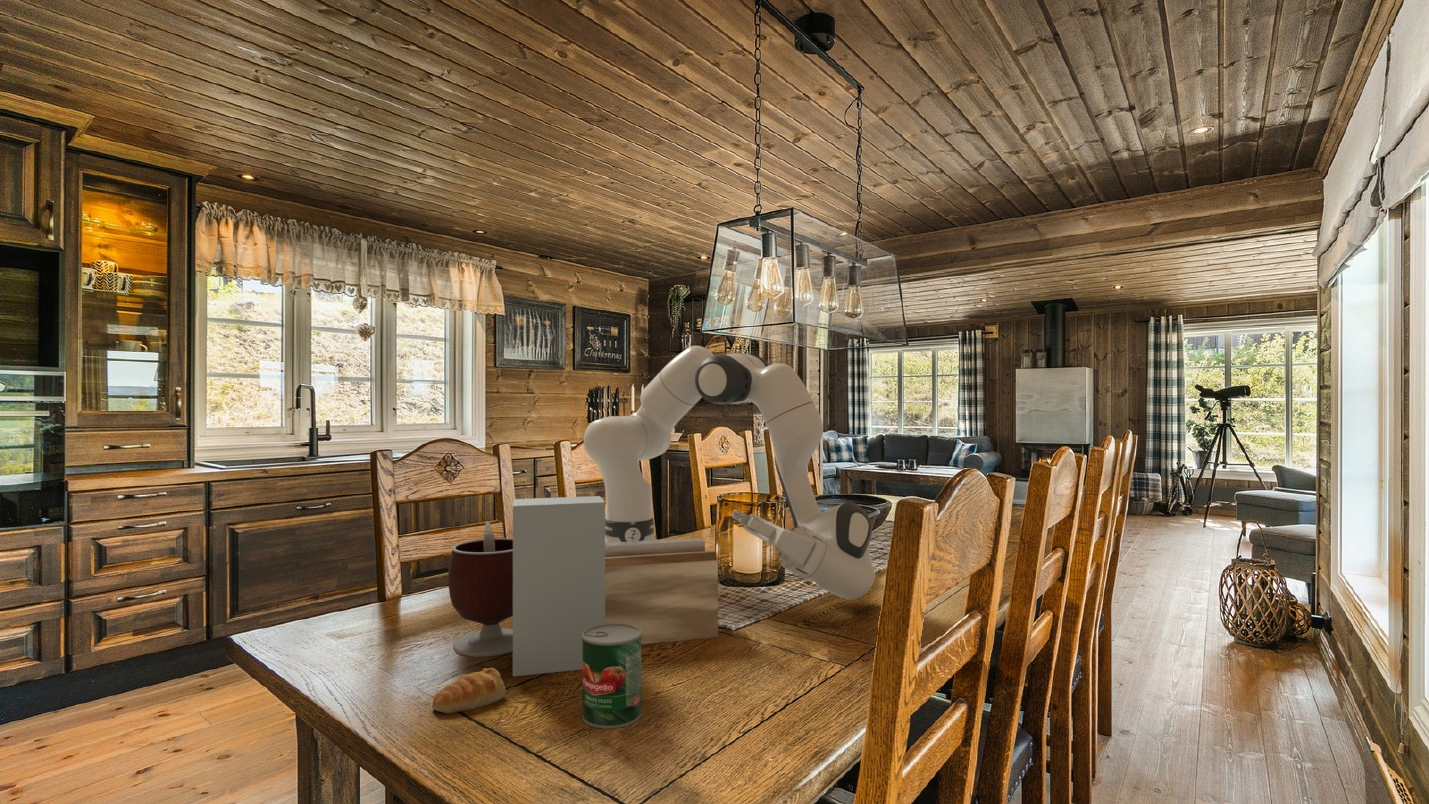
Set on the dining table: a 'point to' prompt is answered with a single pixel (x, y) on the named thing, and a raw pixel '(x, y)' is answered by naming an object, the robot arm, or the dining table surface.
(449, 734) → the dining table surface
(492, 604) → the mate gourd
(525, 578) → the grey tall block
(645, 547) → the bar
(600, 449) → the robot arm
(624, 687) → the canned tomato
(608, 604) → the cradle block
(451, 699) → the pastry
